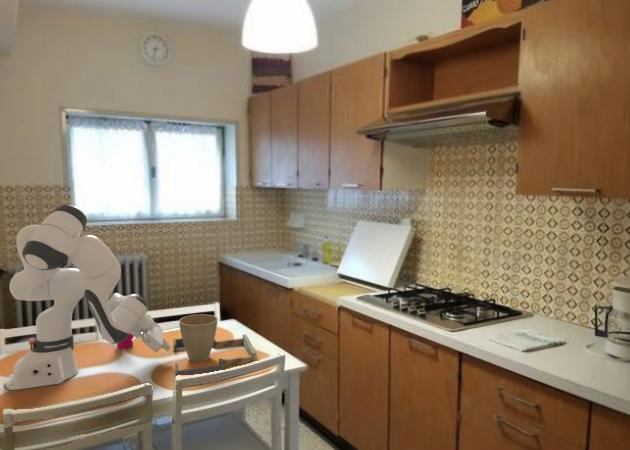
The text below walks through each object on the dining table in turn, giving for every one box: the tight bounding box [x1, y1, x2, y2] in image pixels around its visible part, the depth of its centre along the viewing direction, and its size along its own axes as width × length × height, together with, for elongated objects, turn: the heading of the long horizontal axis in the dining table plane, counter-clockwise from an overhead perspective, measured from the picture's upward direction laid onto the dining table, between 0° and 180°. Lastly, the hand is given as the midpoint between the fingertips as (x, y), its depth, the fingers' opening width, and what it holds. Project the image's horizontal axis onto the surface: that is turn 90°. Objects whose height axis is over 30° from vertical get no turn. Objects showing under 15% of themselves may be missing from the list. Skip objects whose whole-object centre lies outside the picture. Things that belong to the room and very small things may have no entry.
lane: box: [215, 334, 257, 368], centre depth 187 cm, size 13×24×4 cm, turn 18°
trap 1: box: [173, 337, 217, 353], centre depth 196 cm, size 17×8×3 cm, turn 108°
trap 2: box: [174, 358, 225, 377], centre depth 169 cm, size 17×8×3 cm, turn 108°
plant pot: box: [178, 314, 219, 363], centre depth 183 cm, size 15×15×16 cm
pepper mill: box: [116, 334, 135, 350], centre depth 196 cm, size 7×7×20 cm
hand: (169, 348), depth 179 cm, fingers closed
